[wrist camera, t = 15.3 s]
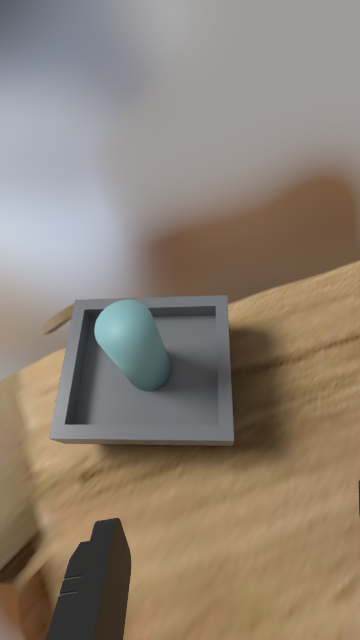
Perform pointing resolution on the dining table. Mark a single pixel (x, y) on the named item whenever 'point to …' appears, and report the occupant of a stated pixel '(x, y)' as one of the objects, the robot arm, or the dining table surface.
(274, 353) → the dining table surface
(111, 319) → the teal cylinder
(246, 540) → the dining table surface
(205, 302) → the grey square tray
